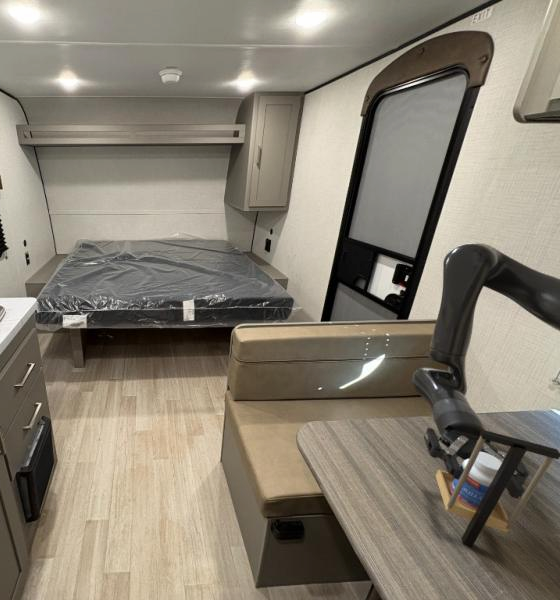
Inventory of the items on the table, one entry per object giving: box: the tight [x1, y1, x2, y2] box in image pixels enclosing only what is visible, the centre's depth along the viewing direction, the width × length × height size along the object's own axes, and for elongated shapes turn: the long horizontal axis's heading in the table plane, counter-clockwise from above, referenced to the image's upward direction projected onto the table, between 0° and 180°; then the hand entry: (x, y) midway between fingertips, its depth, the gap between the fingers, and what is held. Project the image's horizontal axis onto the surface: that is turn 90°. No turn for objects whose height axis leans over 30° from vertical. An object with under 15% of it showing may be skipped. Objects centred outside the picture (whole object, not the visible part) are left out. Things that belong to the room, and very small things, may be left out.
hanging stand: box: [435, 429, 560, 548], centre depth 57 cm, size 9×9×25 cm
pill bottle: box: [450, 452, 502, 510], centre depth 58 cm, size 6×5×10 cm
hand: (486, 484), depth 55 cm, fingers open, 7 cm apart
